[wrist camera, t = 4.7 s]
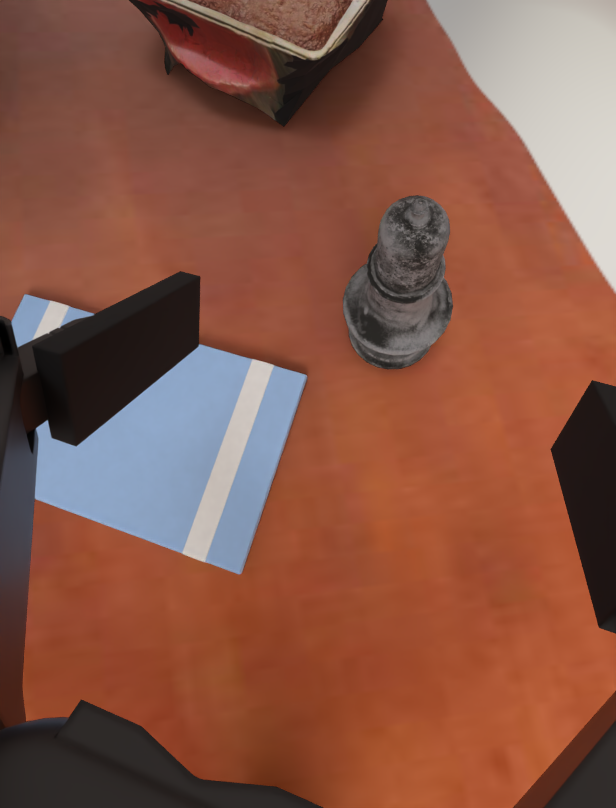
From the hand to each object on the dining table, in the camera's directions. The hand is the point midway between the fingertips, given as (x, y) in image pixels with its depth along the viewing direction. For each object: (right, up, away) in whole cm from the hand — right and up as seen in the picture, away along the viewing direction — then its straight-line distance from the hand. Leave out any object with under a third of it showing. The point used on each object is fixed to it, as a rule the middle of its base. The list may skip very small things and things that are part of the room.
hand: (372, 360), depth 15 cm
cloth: (-14, -3, +13) cm, 19 cm away
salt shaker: (+3, +3, +13) cm, 13 cm away
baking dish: (-5, +25, +19) cm, 32 cm away
